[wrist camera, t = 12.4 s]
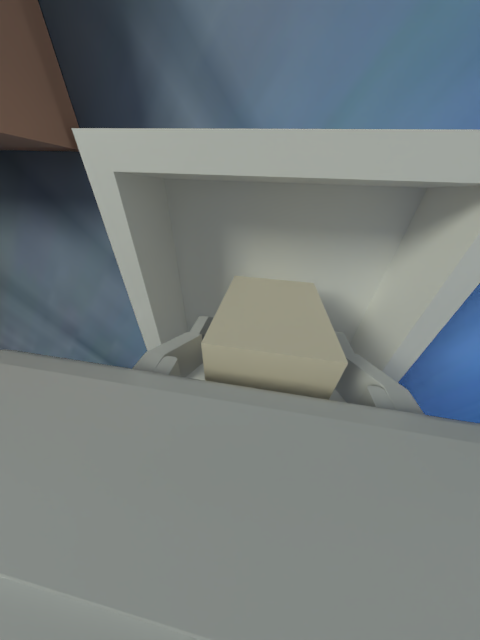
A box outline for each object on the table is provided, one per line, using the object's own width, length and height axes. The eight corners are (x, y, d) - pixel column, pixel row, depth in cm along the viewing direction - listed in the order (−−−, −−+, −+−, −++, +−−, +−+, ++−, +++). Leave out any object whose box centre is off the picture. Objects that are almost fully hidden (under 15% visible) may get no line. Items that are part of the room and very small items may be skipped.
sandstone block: (233, 335, 13) (209, 416, 8) (234, 275, 11) (200, 343, 6) (296, 343, 13) (310, 434, 8) (313, 282, 10) (348, 363, 5)
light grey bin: (185, 352, 20) (162, 393, 16) (148, 152, 11) (71, 128, 7) (341, 374, 18) (361, 427, 14) (455, 158, 9) (605, 130, 5)
